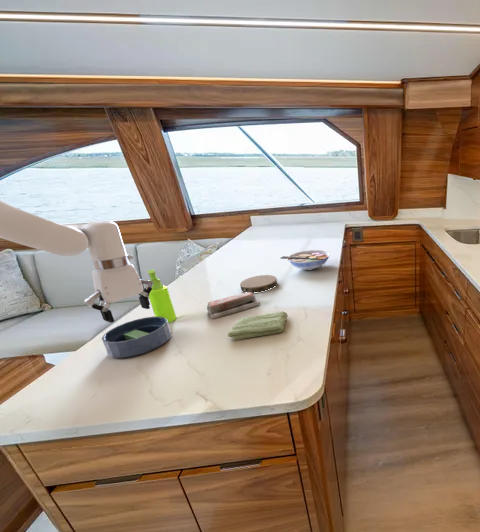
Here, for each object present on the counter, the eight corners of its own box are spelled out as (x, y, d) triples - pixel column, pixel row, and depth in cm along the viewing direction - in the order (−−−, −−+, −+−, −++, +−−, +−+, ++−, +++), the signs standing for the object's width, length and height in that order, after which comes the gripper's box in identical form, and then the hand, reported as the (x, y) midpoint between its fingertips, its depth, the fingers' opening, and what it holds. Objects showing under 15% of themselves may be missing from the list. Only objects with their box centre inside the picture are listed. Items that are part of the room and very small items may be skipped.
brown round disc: (260, 279, 153) (258, 273, 152) (284, 282, 147) (283, 277, 146) (233, 291, 139) (232, 285, 138) (259, 295, 133) (258, 289, 132)
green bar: (156, 342, 98) (154, 334, 97) (145, 348, 95) (142, 340, 94) (138, 336, 101) (135, 329, 100) (126, 342, 98) (123, 334, 97)
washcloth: (238, 322, 110) (237, 315, 109) (288, 316, 114) (287, 309, 113) (227, 342, 98) (225, 333, 97) (283, 334, 102) (282, 326, 100)
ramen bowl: (339, 262, 175) (338, 249, 172) (321, 276, 154) (319, 261, 151) (301, 260, 181) (299, 247, 178) (278, 273, 160) (276, 259, 157)
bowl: (128, 364, 88) (121, 347, 86) (97, 353, 94) (90, 337, 92) (183, 336, 102) (178, 320, 100) (153, 328, 108) (148, 313, 106)
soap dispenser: (174, 314, 118) (160, 266, 112) (177, 320, 113) (162, 271, 107) (156, 319, 114) (140, 270, 108) (158, 325, 110) (141, 275, 103)
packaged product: (209, 308, 111) (204, 300, 118) (212, 319, 113) (207, 311, 120) (259, 294, 122) (252, 287, 129) (261, 305, 124) (254, 297, 131)
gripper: (137, 254, 98) (151, 302, 103) (66, 270, 82) (86, 325, 88) (151, 256, 95) (165, 305, 100) (80, 273, 80) (101, 329, 85)
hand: (128, 314), depth 94 cm, fingers open, 9 cm apart
